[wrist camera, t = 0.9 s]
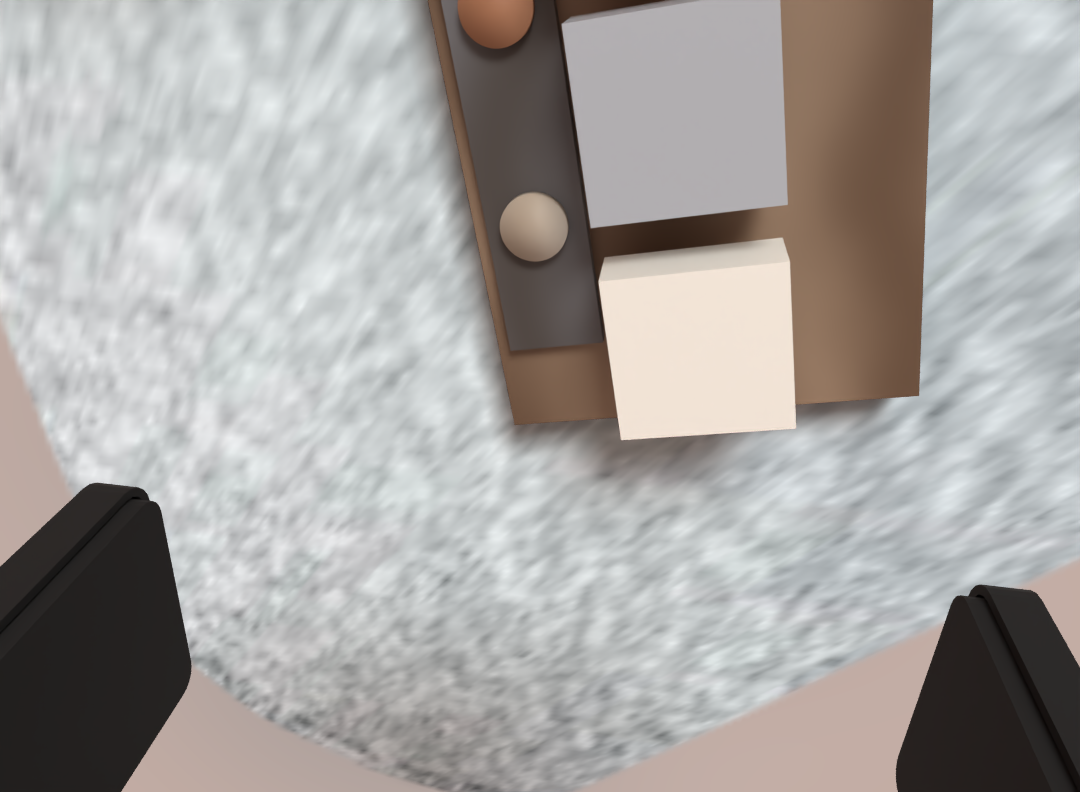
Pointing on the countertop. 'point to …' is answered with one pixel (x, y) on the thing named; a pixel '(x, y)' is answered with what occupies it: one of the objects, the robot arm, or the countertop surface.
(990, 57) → the countertop surface
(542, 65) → the keypad board
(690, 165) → the grey key
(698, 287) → the cream key
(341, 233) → the countertop surface
